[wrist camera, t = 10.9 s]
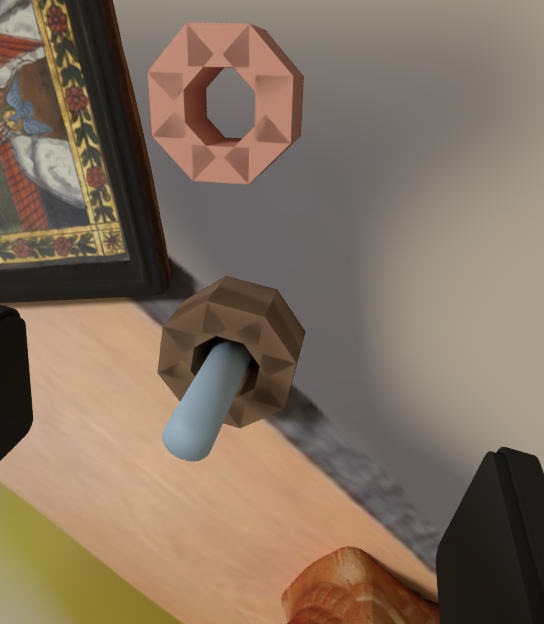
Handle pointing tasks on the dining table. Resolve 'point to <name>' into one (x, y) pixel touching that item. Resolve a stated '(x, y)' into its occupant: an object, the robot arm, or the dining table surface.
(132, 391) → the dining table surface
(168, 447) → the dowel
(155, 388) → the dining table surface
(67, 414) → the dining table surface
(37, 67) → the religious icon
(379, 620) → the ceramic vessel
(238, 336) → the bead
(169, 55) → the pink octagonal nut
